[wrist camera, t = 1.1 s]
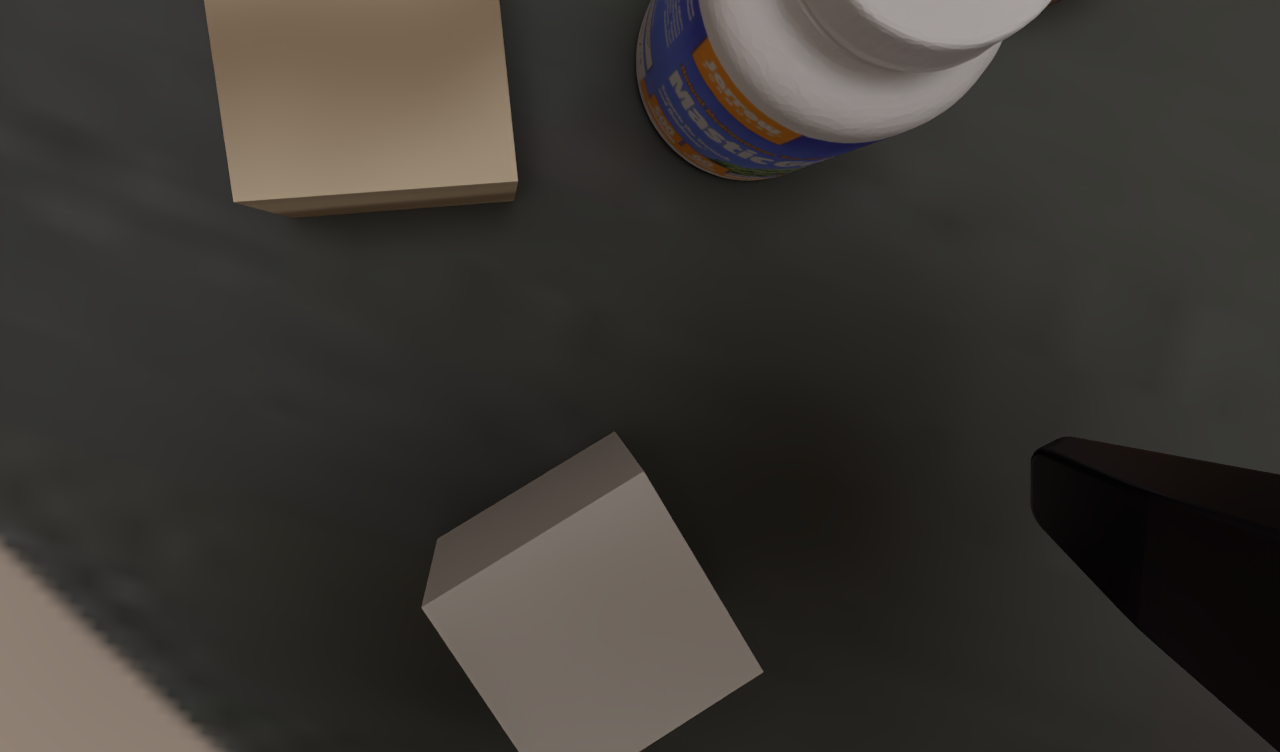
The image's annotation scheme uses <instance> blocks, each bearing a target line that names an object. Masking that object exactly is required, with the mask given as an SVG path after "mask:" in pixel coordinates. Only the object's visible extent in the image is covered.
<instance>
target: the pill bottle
mask: <svg viewBox="0 0 1280 752" xmlns="http://www.w3.org/2000/svg"><path fill="white" fill-rule="evenodd" d="M1050 2H1051V0H651V2H650V4H649V6H648V8H647V11H646V13H645V16H644V18H643V21H642V24H641V28H640V32H639V36H638V42H637V51H636V74H637V81H638V87H639V91H640V95H641V98H642V101H643V104H644V107H645V109H646V111H647V114H648V116H649V118H650V120H651V122H652V123H653V125H654V126H655V128H656V129H657V131H658V132H659V134H660V135H661V137H662V138H663V139H664V140H665V142H666V143H667V144H668V145H669V146H670V147H671V148H672V149H673V150H674V151H675V152H676V153H678V154H679V155H680V156H681V157H682V158H684V159H685V160H686V161H688V162H689V163H691V164H692V165H694V166H696V167H698V168H699V169H701V170H703V171H706V172H708V173H711V174H713V175H716V176H719V177H723V178H728V179H734V180H747V181H752V180H762V179H768V178H774V177H778V176H782V175H785V174H788V173H791V172H794V171H797V170H799V169H802V168H804V167H807V166H810V165H813V164H815V163H818V162H821V161H824V160H826V159H829V158H832V157H835V156H837V155H840V154H843V153H846V152H849V151H852V150H854V149H857V148H860V147H863V146H866V145H869V144H872V143H875V142H878V141H881V140H884V139H887V138H889V137H892V136H895V135H898V134H900V133H903V132H905V131H908V130H911V129H913V128H915V127H917V126H919V125H922V124H924V123H926V122H928V121H930V120H931V119H933V118H935V117H936V116H938V115H939V114H941V113H942V112H944V111H945V110H947V109H948V108H950V107H951V106H952V105H953V104H954V103H956V102H957V101H958V100H959V99H960V98H961V97H962V96H963V95H964V94H965V93H966V92H967V91H968V90H969V89H970V88H971V87H972V86H973V85H974V83H975V82H976V81H977V80H978V78H979V77H980V76H981V74H982V73H983V72H984V70H985V69H986V68H987V66H988V65H989V64H990V62H991V61H992V59H993V58H994V56H995V54H996V53H997V51H998V49H999V47H1000V45H1001V43H1002V41H1003V40H1004V39H1006V38H1008V37H1009V36H1011V35H1013V34H1014V33H1016V32H1017V31H1019V30H1020V29H1022V28H1023V27H1024V26H1026V25H1027V24H1028V23H1029V22H1031V21H1032V20H1033V19H1035V18H1036V17H1037V16H1038V15H1039V14H1040V13H1041V12H1042V11H1043V9H1044V8H1045V7H1046V6H1047V5H1048V4H1049V3H1050Z"/></svg>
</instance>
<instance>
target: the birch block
mask: <svg viewBox="0 0 1280 752" xmlns="http://www.w3.org/2000/svg"><path fill="white" fill-rule="evenodd" d="M204 3H205V10H206V17H207V23H208V30H209V37H210V44H211V51H212V58H213V65H214V71H215V78H216V85H217V92H218V99H219V106H220V113H221V120H222V126H223V133H224V140H225V147H226V154H227V161H228V168H229V174H230V181H231V188H232V195H233V202H235V203H239V204H242V205H246V206H250V207H253V208H257V209H261V210H264V211H268V212H272V213H275V214H279V215H283V216H286V217H290V218H298V217H311V216H324V215H337V214H350V213H363V212H376V211H389V210H402V209H416V208H429V207H442V206H455V205H468V204H481V203H494V202H507V201H514V199H515V194H516V189H517V184H518V176H517V167H516V157H515V147H514V138H513V128H512V119H511V109H510V99H509V90H508V80H507V70H506V61H505V51H504V42H503V32H502V22H501V13H500V3H499V0H204Z"/></svg>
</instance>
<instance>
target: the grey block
mask: <svg viewBox="0 0 1280 752" xmlns="http://www.w3.org/2000/svg"><path fill="white" fill-rule="evenodd" d="M421 608H422V609H423V611H424V612H425V614H426V615H427V617H428V618H429V620H430V621H431V623H432V624H433V626H434V627H435V628H436V630H437V631H438V633H439V634H440V636H441V637H442V639H443V640H444V642H445V643H446V645H447V646H448V648H449V649H450V651H451V652H452V654H453V655H454V657H455V658H456V660H457V661H458V663H459V664H460V666H461V667H462V668H463V670H464V671H465V673H466V674H467V676H468V677H469V679H470V680H471V682H472V683H473V685H474V686H475V688H476V689H477V691H478V692H479V694H480V695H481V697H482V698H483V700H484V701H485V703H486V704H487V706H488V707H489V708H490V710H491V711H492V713H493V714H494V716H495V717H496V719H497V720H498V722H499V723H500V725H501V726H502V728H503V729H504V731H505V732H506V734H507V735H508V737H509V738H510V740H511V741H512V743H513V744H514V745H515V747H516V748H517V750H518V751H519V752H640V751H641V750H643V749H644V748H646V747H647V746H649V745H650V744H652V743H654V742H655V741H657V740H658V739H660V738H661V737H663V736H664V735H666V734H668V733H669V732H671V731H672V730H674V729H675V728H677V727H679V726H680V725H682V724H683V723H685V722H686V721H688V720H689V719H691V718H693V717H694V716H696V715H697V714H699V713H700V712H702V711H703V710H705V709H707V708H708V707H710V706H711V705H713V704H714V703H716V702H718V701H719V700H721V699H722V698H724V697H725V696H727V695H728V694H730V693H732V692H733V691H735V690H736V689H738V688H739V687H741V686H742V685H744V684H746V683H747V682H749V681H750V680H752V679H753V678H755V677H757V676H758V675H760V674H761V673H763V670H762V669H761V667H760V665H759V664H758V662H757V660H756V659H755V657H754V655H753V653H752V652H751V650H750V648H749V647H748V645H747V643H746V642H745V640H744V638H743V637H742V635H741V633H740V632H739V630H738V628H737V627H736V625H735V623H734V622H733V620H732V618H731V617H730V615H729V613H728V612H727V610H726V608H725V607H724V605H723V603H722V602H721V600H720V598H719V596H718V595H717V593H716V591H715V590H714V588H713V586H712V585H711V583H710V581H709V580H708V578H707V576H706V575H705V573H704V571H703V570H702V568H701V566H700V565H699V563H698V561H697V560H696V558H695V556H694V555H693V553H692V551H691V550H690V548H689V546H688V545H687V543H686V541H685V539H684V538H683V536H682V534H681V533H680V531H679V529H678V528H677V526H676V524H675V523H674V521H673V519H672V518H671V516H670V514H669V513H668V511H667V509H666V508H665V506H664V504H663V503H662V501H661V499H660V498H659V496H658V494H657V493H656V491H655V489H654V488H653V486H652V484H651V482H650V481H649V479H648V477H647V476H646V474H645V472H644V471H643V469H642V468H641V467H640V465H639V464H638V463H637V461H636V460H635V458H634V457H633V456H632V454H631V453H630V452H629V450H628V449H627V447H626V446H625V445H624V443H623V442H622V441H621V439H620V438H619V436H618V435H617V434H616V432H615V431H614V432H613V433H611V434H609V435H608V436H606V437H604V438H603V439H601V440H599V441H598V442H596V443H594V444H593V445H591V446H589V447H588V448H586V449H585V450H583V451H581V452H580V453H578V454H576V455H575V456H573V457H571V458H570V459H568V460H566V461H565V462H563V463H561V464H560V465H558V466H557V467H555V468H553V469H552V470H550V471H548V472H547V473H545V474H543V475H542V476H540V477H538V478H537V479H535V480H533V481H532V482H530V483H529V484H527V485H525V486H524V487H522V488H520V489H519V490H517V491H515V492H514V493H512V494H510V495H509V496H507V497H505V498H504V499H502V500H501V501H499V502H497V503H496V504H494V505H492V506H491V507H489V508H487V509H486V510H484V511H482V512H481V513H479V514H477V515H476V516H474V517H473V518H471V519H469V520H468V521H466V522H464V523H463V524H461V525H459V526H458V527H456V528H454V529H453V530H451V531H449V532H448V533H446V534H445V535H443V536H441V537H440V538H438V539H437V542H436V547H435V551H434V555H433V560H432V564H431V568H430V573H429V577H428V581H427V585H426V590H425V594H424V598H423V603H422V607H421Z"/></svg>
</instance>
